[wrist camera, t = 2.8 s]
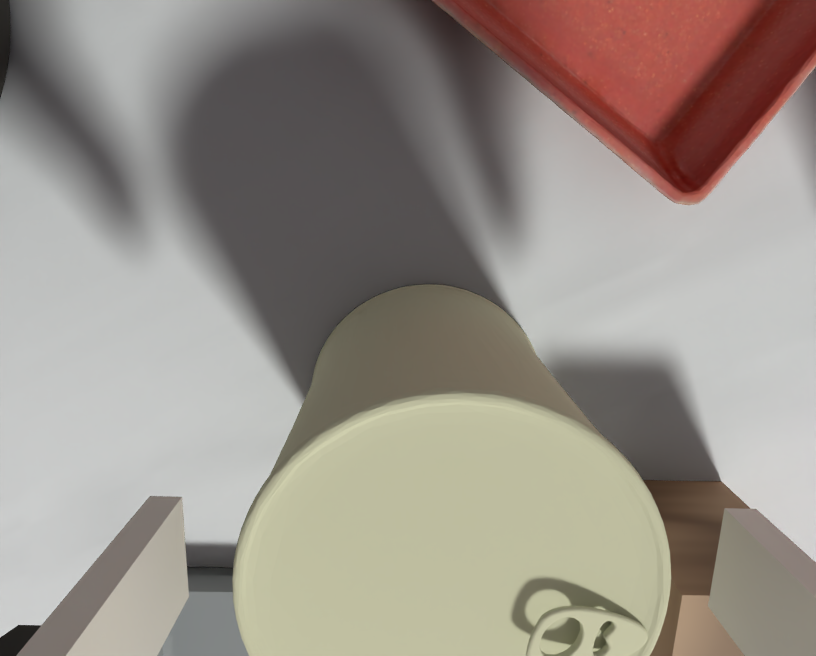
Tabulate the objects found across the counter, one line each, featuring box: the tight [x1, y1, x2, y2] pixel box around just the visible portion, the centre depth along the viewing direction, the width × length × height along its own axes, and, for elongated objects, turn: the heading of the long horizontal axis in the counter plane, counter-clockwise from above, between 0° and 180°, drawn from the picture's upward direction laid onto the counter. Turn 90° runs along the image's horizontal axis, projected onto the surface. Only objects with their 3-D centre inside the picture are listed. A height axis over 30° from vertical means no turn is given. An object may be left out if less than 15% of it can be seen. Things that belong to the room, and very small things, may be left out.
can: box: [232, 284, 671, 656], centre depth 17 cm, size 9×9×12 cm
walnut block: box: [643, 480, 750, 656], centre depth 21 cm, size 5×5×7 cm
